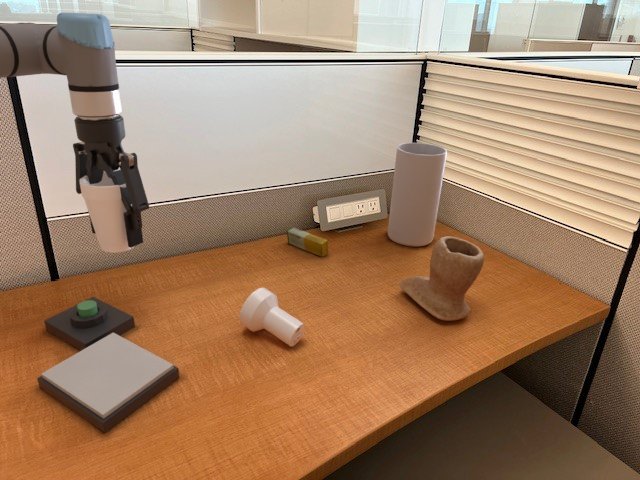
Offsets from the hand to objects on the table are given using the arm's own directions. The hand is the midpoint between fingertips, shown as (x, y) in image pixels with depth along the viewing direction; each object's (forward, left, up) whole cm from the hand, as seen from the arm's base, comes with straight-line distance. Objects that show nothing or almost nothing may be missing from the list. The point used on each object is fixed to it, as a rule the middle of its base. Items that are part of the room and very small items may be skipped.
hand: (117, 237), depth 89 cm
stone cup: (+51, +39, -16) cm, 66 cm away
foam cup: (0, 0, -2) cm, 2 cm away
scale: (+15, -15, -16) cm, 27 cm away
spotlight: (+28, +10, -16) cm, 34 cm away
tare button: (0, -8, -12) cm, 15 cm away
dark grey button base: (0, -8, -16) cm, 18 cm away
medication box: (+14, +44, -16) cm, 49 cm away
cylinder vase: (+33, +67, -16) cm, 76 cm away
